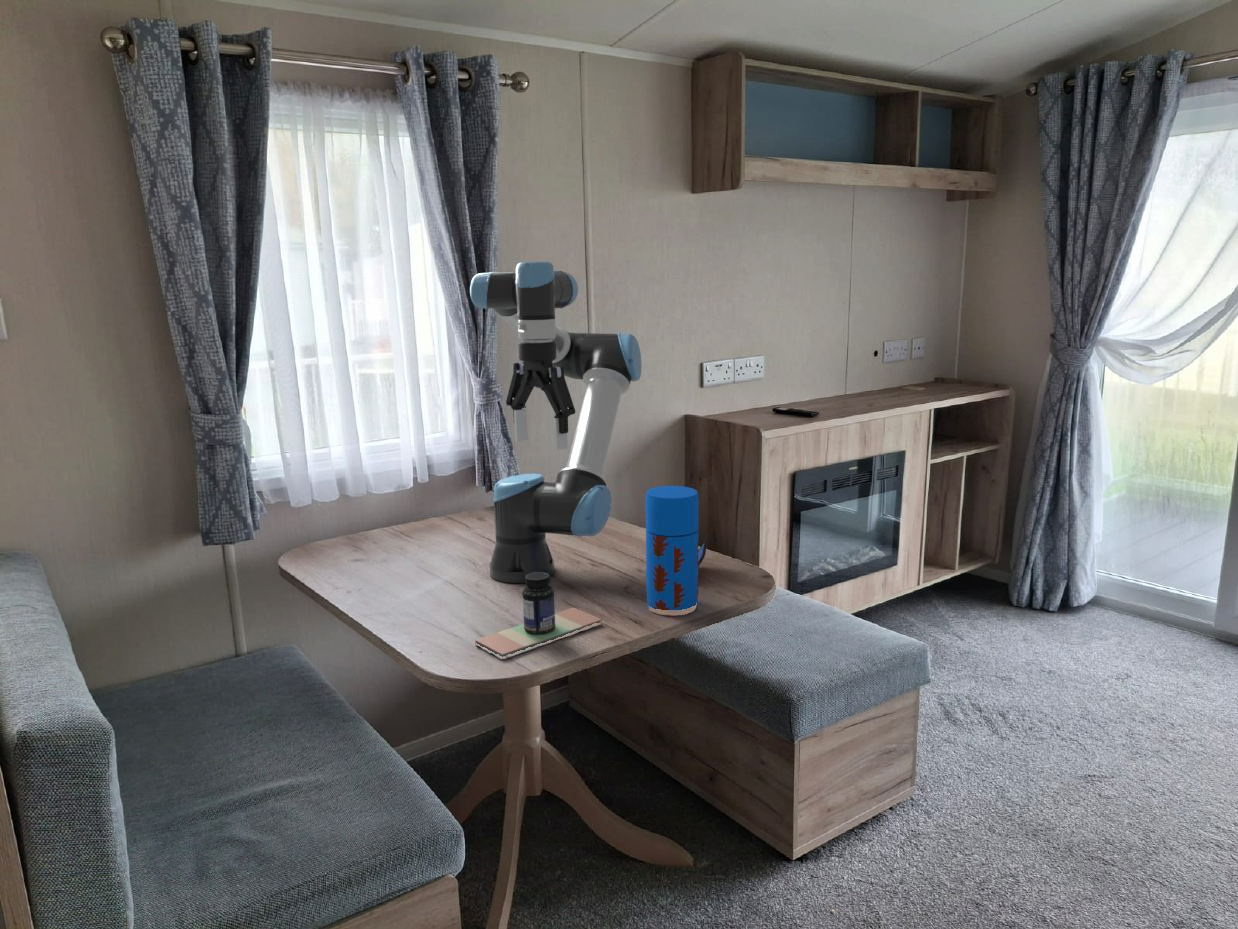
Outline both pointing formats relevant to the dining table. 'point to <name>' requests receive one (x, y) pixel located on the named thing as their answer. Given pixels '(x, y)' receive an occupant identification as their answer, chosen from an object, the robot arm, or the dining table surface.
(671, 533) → the thermos
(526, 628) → the pill bottle
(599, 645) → the dining table surface
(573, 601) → the dining table surface
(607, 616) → the dining table surface
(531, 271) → the robot arm
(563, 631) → the gauge plate
